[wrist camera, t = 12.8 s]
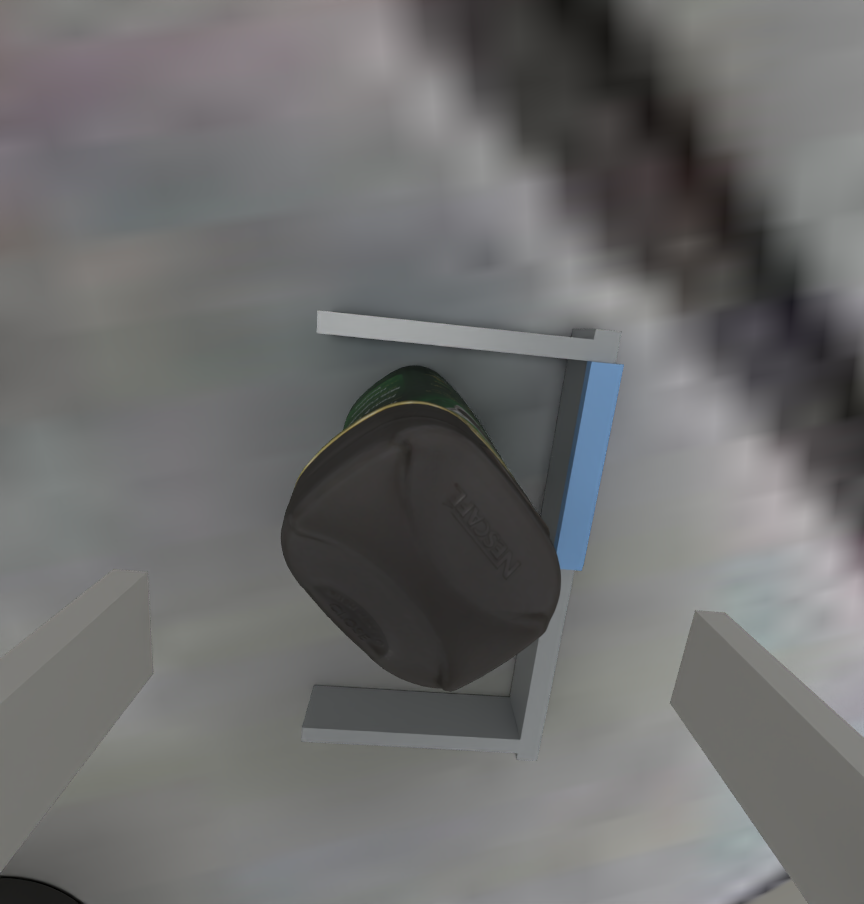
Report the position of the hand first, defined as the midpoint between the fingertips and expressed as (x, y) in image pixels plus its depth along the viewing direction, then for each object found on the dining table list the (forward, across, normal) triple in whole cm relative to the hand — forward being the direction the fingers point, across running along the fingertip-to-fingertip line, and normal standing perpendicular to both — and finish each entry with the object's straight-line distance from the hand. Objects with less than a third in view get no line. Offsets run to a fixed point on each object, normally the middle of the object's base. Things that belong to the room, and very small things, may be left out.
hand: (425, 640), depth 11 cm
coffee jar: (+21, 0, 0) cm, 21 cm away
